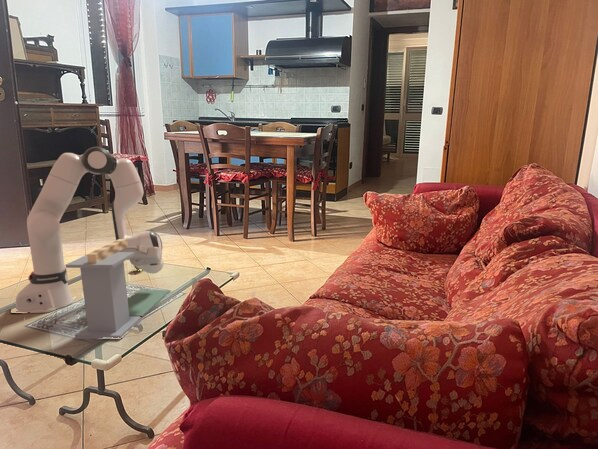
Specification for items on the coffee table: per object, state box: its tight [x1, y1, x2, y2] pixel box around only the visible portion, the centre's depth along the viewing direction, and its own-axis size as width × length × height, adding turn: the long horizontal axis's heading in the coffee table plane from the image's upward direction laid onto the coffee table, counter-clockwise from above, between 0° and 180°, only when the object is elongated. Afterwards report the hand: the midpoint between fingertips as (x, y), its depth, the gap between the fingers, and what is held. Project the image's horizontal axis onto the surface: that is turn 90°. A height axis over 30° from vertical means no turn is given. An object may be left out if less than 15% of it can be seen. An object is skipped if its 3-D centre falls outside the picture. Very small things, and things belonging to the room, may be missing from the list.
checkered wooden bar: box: [86, 239, 128, 263], centre depth 157 cm, size 22×3×3 cm, turn 175°
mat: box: [127, 289, 171, 317], centre depth 181 cm, size 28×14×1 cm, turn 175°
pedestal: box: [65, 252, 143, 340], centre depth 155 cm, size 16×16×26 cm
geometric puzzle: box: [130, 264, 140, 272], centre depth 226 cm, size 7×7×8 cm
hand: (126, 247), depth 169 cm, fingers open, 8 cm apart
